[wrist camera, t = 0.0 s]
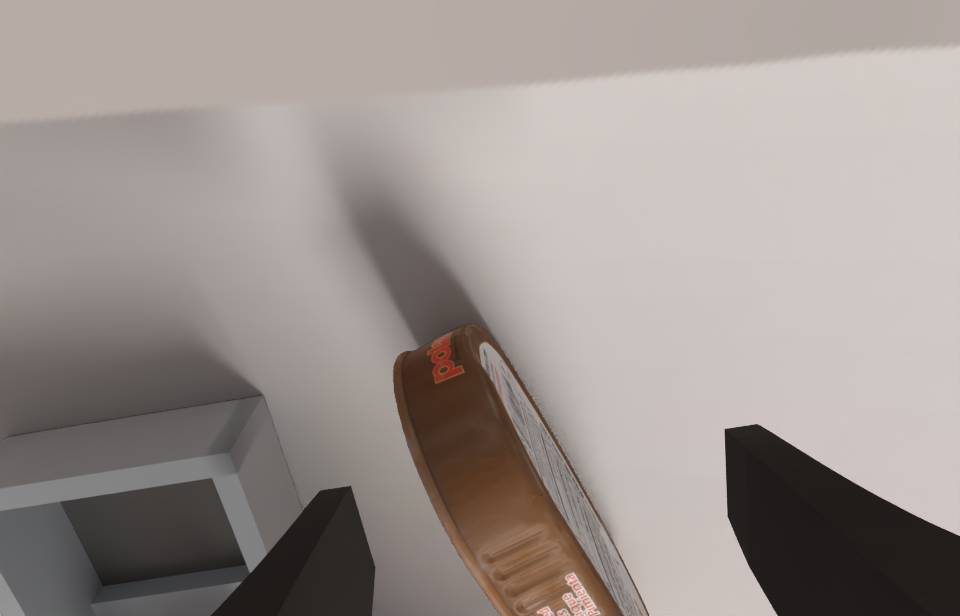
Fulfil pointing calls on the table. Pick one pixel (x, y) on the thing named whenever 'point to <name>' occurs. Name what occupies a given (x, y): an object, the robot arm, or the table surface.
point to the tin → (506, 484)
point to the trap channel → (141, 512)
